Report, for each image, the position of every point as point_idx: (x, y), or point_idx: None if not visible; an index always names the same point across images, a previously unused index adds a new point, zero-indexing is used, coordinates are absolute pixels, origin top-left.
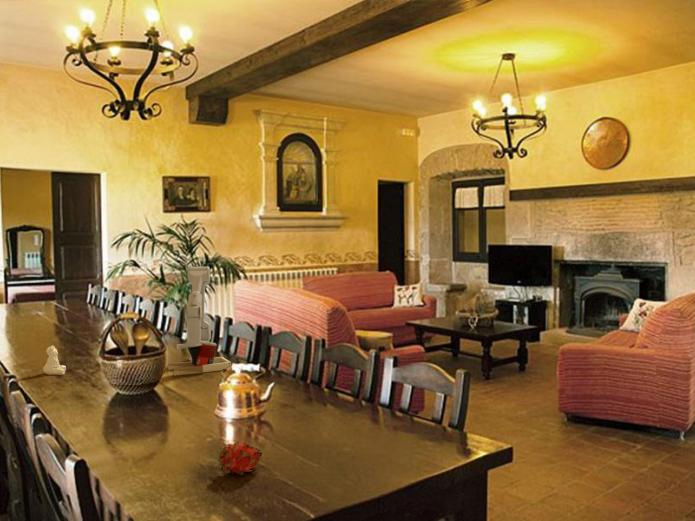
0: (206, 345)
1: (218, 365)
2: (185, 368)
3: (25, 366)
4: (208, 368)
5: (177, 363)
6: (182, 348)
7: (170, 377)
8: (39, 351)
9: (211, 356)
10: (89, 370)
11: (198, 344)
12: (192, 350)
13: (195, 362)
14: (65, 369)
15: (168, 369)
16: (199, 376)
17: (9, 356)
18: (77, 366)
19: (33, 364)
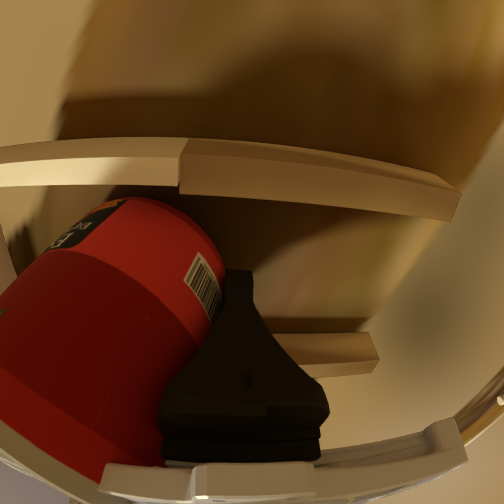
0: (24, 423)
1: (23, 156)
2: (379, 180)
3: (489, 422)
4: (123, 145)
5: (324, 364)
6: (397, 440)
7: (469, 148)
8: None
9: (32, 266)
10: (487, 390)
11: (183, 494)
12: (303, 396)
13: (229, 280)
14: (501, 396)
15: (367, 337)
16: (284, 3)
17: None
18: (464, 419)
19: (475, 430)
